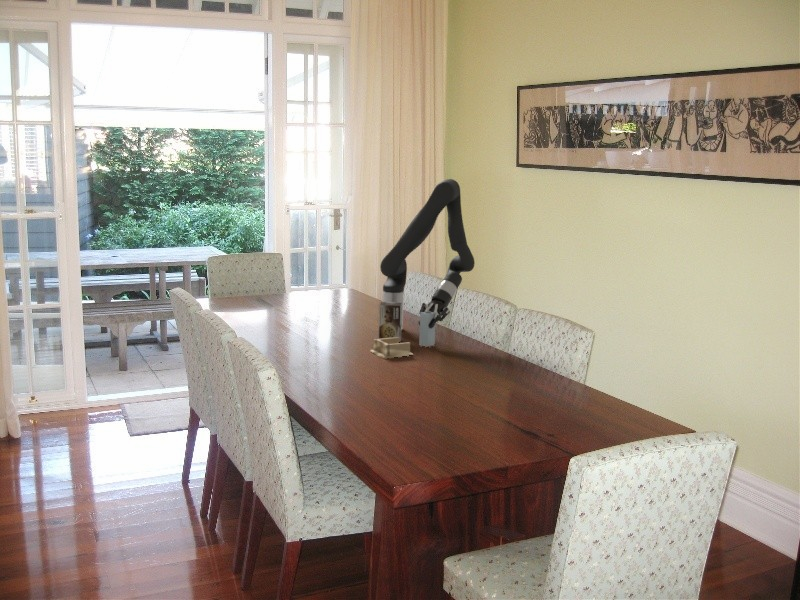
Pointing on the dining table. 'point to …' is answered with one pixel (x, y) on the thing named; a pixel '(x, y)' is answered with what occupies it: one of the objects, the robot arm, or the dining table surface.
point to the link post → (426, 329)
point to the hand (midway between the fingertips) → (425, 326)
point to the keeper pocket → (390, 348)
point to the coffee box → (390, 320)
